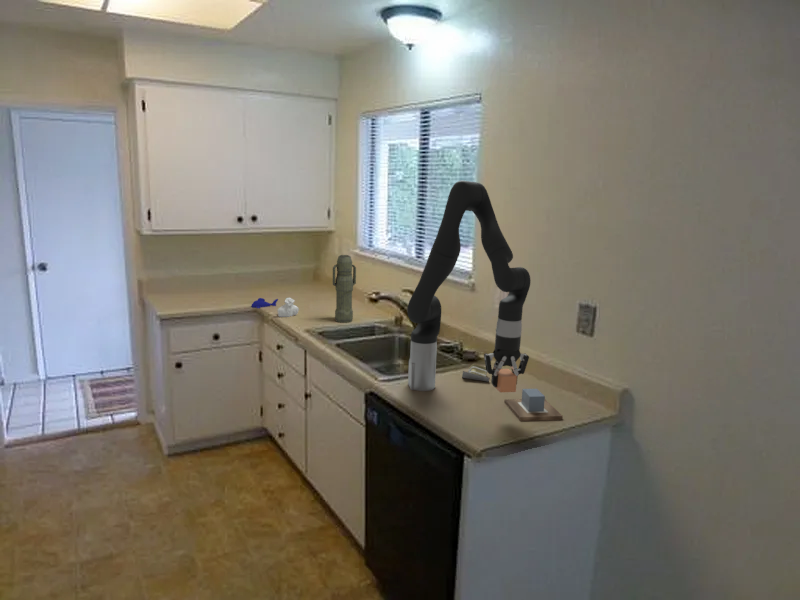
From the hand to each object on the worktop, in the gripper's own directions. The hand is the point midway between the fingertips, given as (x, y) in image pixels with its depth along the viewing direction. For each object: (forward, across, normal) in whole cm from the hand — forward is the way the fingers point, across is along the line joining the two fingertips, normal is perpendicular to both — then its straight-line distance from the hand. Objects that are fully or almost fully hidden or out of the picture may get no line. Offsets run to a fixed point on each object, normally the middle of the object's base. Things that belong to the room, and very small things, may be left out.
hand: (503, 386), depth 177 cm
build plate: (+11, +12, +6) cm, 17 cm away
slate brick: (+10, +12, +6) cm, 17 cm away
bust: (+14, -72, +139) cm, 157 cm away
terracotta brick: (+1, 0, 0) cm, 1 cm away
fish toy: (+15, -86, +159) cm, 181 cm away
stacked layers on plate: (+12, +2, +36) cm, 38 cm away
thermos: (+14, -43, +126) cm, 133 cm away
